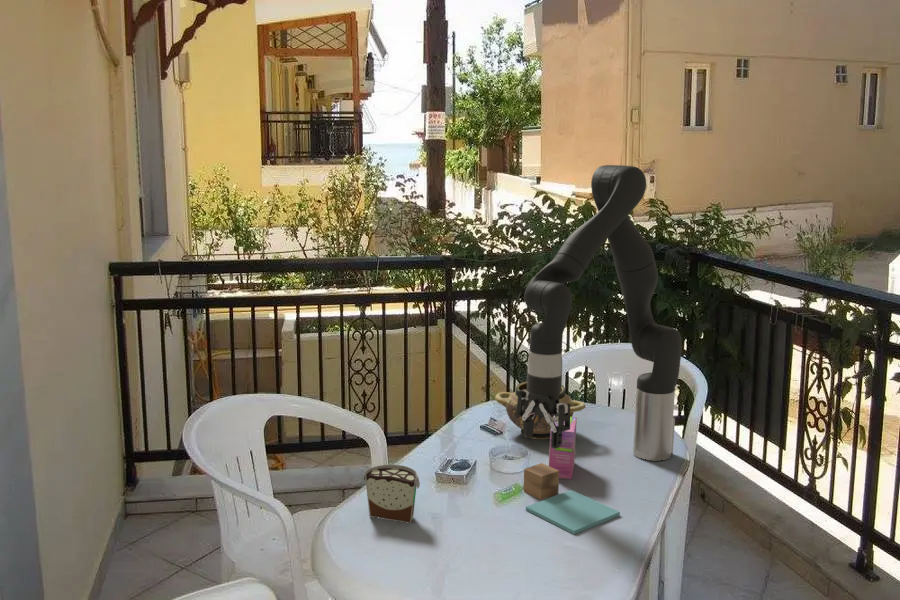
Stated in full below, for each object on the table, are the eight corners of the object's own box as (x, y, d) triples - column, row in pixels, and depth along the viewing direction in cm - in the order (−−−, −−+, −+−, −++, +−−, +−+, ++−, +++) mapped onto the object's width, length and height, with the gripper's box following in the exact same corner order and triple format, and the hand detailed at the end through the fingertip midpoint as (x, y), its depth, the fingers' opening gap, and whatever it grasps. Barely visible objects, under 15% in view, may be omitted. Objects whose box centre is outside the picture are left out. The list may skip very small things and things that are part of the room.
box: (572, 479, 198) (574, 431, 196) (548, 477, 199) (549, 429, 197) (575, 462, 208) (577, 416, 206) (551, 460, 209) (553, 415, 207)
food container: (428, 512, 181) (428, 468, 179) (417, 524, 175) (417, 479, 173) (375, 503, 185) (374, 460, 183) (363, 515, 179) (362, 471, 177)
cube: (540, 485, 195) (541, 463, 194) (558, 493, 191) (559, 470, 190) (523, 491, 192) (524, 468, 190) (540, 500, 187) (541, 476, 186)
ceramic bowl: (486, 443, 228) (481, 395, 222) (511, 408, 242) (508, 362, 236) (574, 460, 217) (571, 410, 211) (595, 423, 231) (593, 375, 225)
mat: (571, 493, 191) (571, 489, 191) (619, 515, 180) (619, 511, 180) (525, 510, 182) (525, 506, 182) (573, 534, 171) (574, 530, 171)
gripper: (580, 376, 182) (577, 447, 186) (534, 361, 193) (531, 429, 196) (556, 381, 178) (552, 455, 181) (509, 366, 189) (507, 436, 192)
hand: (541, 441), depth 189 cm, fingers open, 8 cm apart
